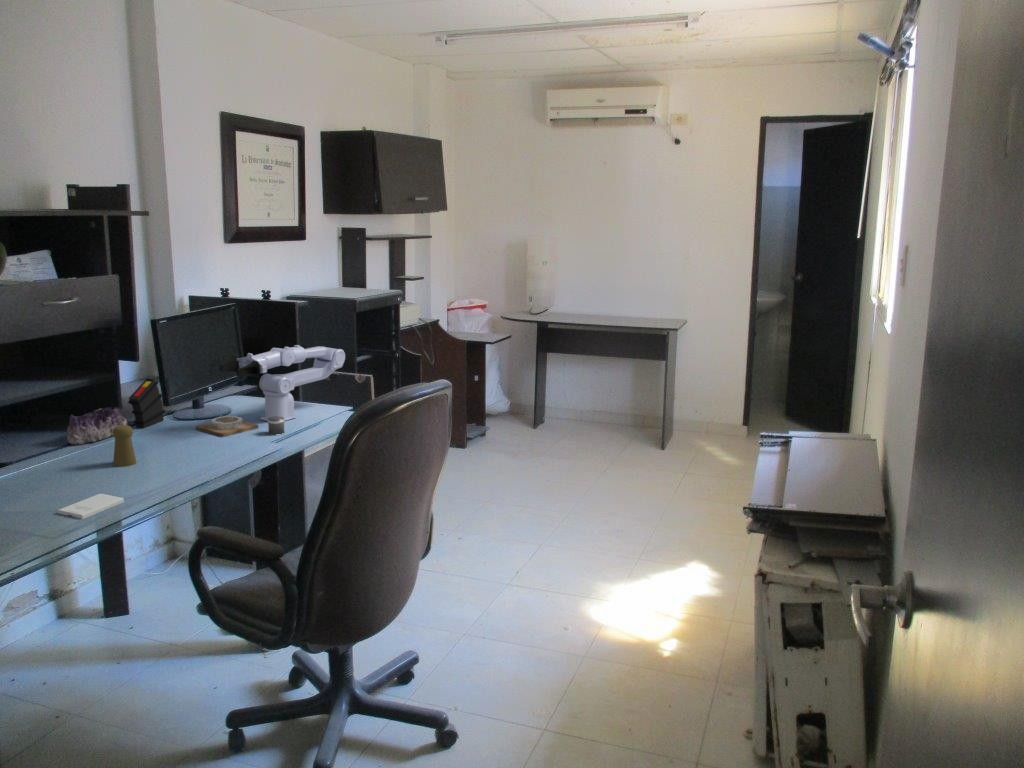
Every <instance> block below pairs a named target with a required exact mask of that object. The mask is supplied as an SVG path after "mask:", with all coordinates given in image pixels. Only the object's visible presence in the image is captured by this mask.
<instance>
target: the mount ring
mask: <svg viewBox="0 0 1024 768" xmlns="http://www.w3.org/2000/svg"><path fill="white" fill-rule="evenodd" d="M242 421H243V418H242V417H239V416H235V415H227V416H226V415H225V416H218V417H217V416H216V417H215V418H213V419H211V422H212V427H213V428H215V429H223V430H227V429H235V428H239V427H241V426H242V425H243V423H242Z"/></svg>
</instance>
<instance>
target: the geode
mask: <svg viewBox="0 0 1024 768" xmlns="http://www.w3.org/2000/svg"><path fill="white" fill-rule="evenodd" d="M68 419H69V422H68V426H67V430H66V431H67V432H66V434H67V439H66V440H67V442H68V441H69V442H70V443H71V445H70V446H72V447H73V446H74V447H75V446H77V447H78V446H84V445H90V444H91V445H92V444H95V442H98V441H101V440H104V439H109V438H111V437H114V436H113V429H114V428H115V427H117V426H121V425H127V426H128V421H127V418H125V417H124V410H123V409H122V408H121V407H118V406H115V407H113V409H112V406H109V407H108V406H107V407H105V408H102V407H100V408H99V409H95V410H94V411H92V412H88V413H85V414H82V415H79V416H75V415H73V414H70V415H69V418H68Z"/></svg>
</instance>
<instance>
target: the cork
mask: <svg viewBox="0 0 1024 768" xmlns="http://www.w3.org/2000/svg"><path fill="white" fill-rule="evenodd" d="M133 430H134V429H133V428H132V426H130V425H128V424H127V425H121V426H117V427H115V428H114V429H113V436H112V437H114V451H113V461H112V464H113V466H114V467H120V468H121V467H130V466H134V465H136V464H137V458H136V454H135V450H134V446H133V441H132V436H133V433H134V431H133Z"/></svg>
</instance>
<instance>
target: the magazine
mask: <svg viewBox="0 0 1024 768" xmlns="http://www.w3.org/2000/svg"><path fill="white" fill-rule="evenodd" d="M158 384H159V382H158V380H157V381H156V380H155V378H146V379H145V380H144V381H143V382H142V383H141V384H140V385H139V386H138V387H137V389H135V391H133V393H131V395H130V396H129V397H128V402H127V403H128V404H129V405H131V406H132V411H131V414H133V415H134V419H135V420H133V424H135V428H139V429H140V428H141V429H145V428H146V429H147V427H150V426H153V425H155V424H157V423H160V422H163V421H164V420H165V419H164V418H165V417H164V414H165V413H166V411H165V409H163V403H162V397H163V394H162V393H160V390H159V387H158Z"/></svg>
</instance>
